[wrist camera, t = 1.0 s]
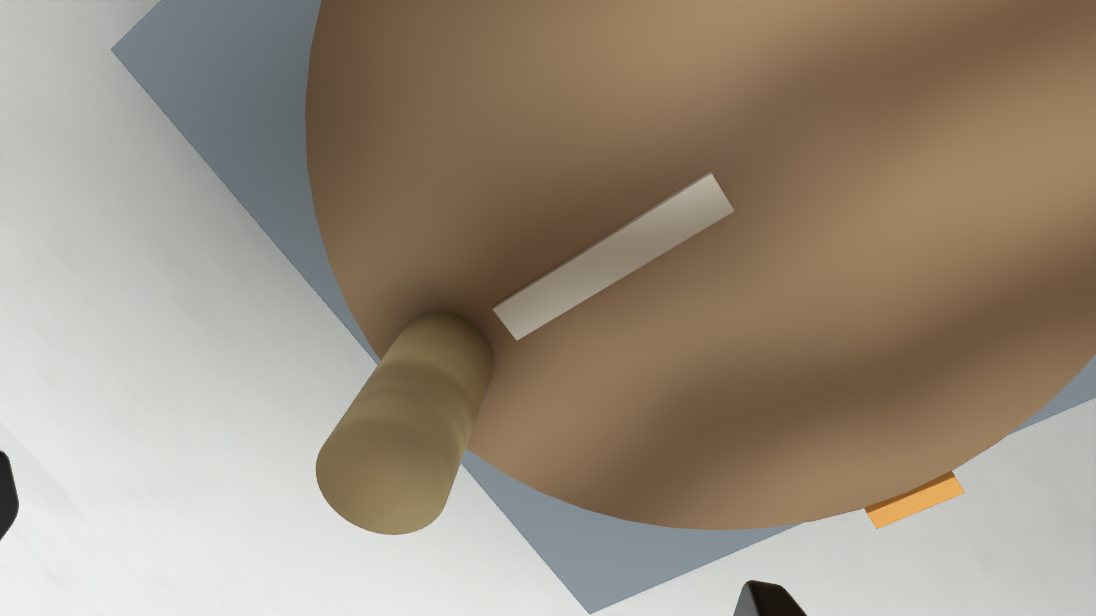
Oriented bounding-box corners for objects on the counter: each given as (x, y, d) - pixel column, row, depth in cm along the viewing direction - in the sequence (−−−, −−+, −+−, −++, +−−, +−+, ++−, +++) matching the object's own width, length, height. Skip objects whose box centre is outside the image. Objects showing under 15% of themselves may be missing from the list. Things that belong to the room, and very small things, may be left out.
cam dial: (1259, 278, 17) (1632, 444, 11) (601, 572, 23) (591, 793, 17) (924, -608, 12) (1264, -1302, 6) (186, 66, 18) (-61, 104, 11)
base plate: (1304, 277, 18) (1414, 322, 16) (590, 592, 25) (586, 659, 22) (947, -731, 12) (1032, -923, 10) (135, 47, 19) (59, 54, 16)
